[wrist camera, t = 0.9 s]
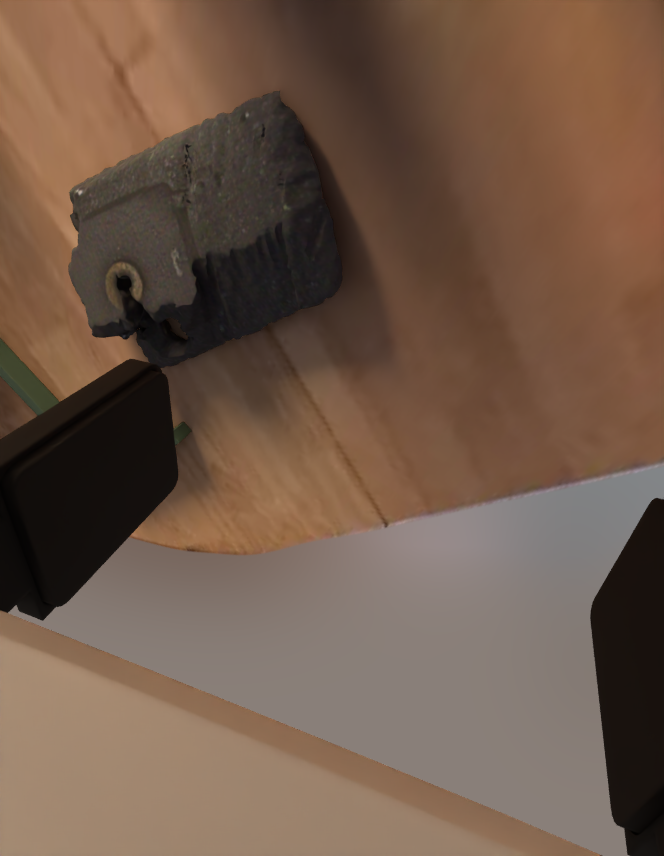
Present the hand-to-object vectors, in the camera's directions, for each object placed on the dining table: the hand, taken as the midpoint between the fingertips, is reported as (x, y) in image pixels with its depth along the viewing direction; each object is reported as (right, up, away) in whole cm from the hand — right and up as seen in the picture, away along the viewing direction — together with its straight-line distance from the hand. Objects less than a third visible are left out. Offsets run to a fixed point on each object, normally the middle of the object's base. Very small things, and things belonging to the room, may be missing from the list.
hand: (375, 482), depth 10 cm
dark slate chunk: (-10, +15, +29) cm, 34 cm away
